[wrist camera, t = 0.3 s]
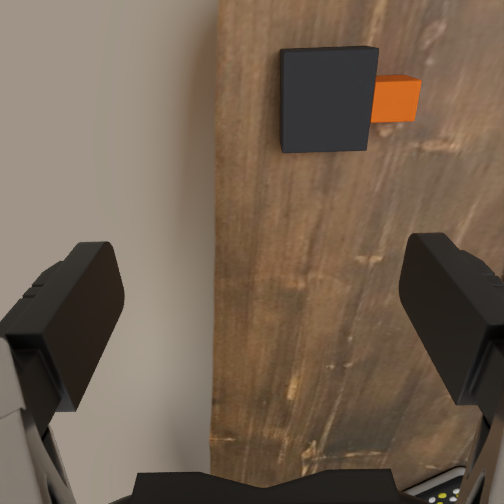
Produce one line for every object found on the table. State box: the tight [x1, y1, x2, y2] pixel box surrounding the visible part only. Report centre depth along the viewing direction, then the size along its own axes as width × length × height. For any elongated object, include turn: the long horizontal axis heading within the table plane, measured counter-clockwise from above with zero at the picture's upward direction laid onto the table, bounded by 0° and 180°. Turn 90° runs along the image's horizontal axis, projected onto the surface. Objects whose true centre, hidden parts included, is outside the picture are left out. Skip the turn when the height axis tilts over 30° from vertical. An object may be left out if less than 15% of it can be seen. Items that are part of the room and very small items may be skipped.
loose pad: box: [280, 46, 422, 153], centre depth 25 cm, size 6×8×3 cm
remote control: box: [404, 467, 466, 504], centre depth 52 cm, size 6×13×2 cm, turn 137°
